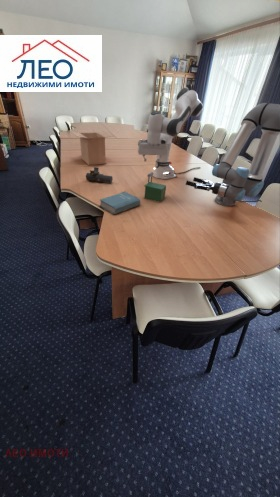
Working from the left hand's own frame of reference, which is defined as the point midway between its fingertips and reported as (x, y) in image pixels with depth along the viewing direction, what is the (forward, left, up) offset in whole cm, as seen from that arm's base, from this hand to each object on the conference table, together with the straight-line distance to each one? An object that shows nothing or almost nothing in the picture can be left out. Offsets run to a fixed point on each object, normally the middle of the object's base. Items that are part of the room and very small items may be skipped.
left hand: (151, 161), depth 155 cm
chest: (-3, +4, -26) cm, 27 cm away
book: (+27, +8, -26) cm, 38 cm away
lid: (-3, +4, -17) cm, 18 cm away
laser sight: (+26, -42, -26) cm, 56 cm away
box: (+13, -102, -26) cm, 106 cm away
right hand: (-20, +21, -9) cm, 30 cm away
